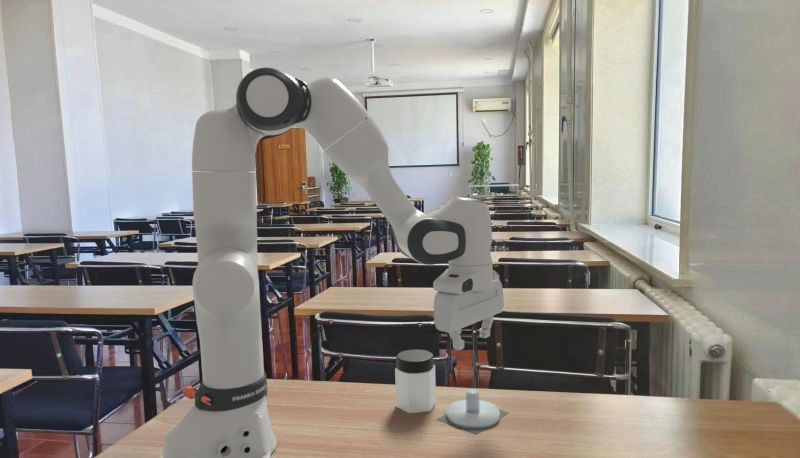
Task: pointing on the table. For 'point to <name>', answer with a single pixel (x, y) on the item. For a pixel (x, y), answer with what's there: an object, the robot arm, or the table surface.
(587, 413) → the table surface
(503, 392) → the table surface
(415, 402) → the jar
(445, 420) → the mat
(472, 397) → the lid
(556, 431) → the table surface
